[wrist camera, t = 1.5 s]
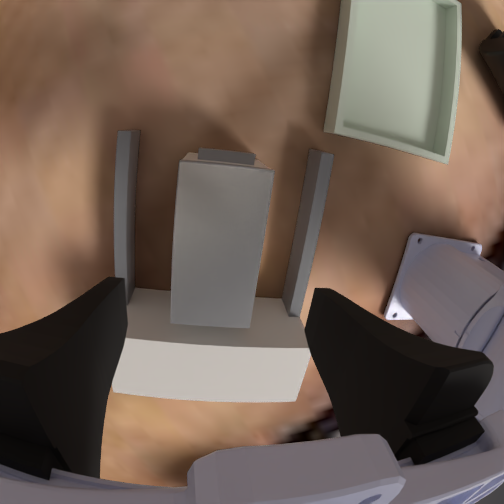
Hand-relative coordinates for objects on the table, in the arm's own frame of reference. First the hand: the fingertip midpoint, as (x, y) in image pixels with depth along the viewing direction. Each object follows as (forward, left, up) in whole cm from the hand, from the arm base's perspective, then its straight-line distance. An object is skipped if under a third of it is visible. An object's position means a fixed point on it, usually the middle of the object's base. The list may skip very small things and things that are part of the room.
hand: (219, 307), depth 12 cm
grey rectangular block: (0, 0, -11) cm, 11 cm away
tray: (-11, -14, -11) cm, 21 cm away
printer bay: (0, +2, -11) cm, 11 cm away
